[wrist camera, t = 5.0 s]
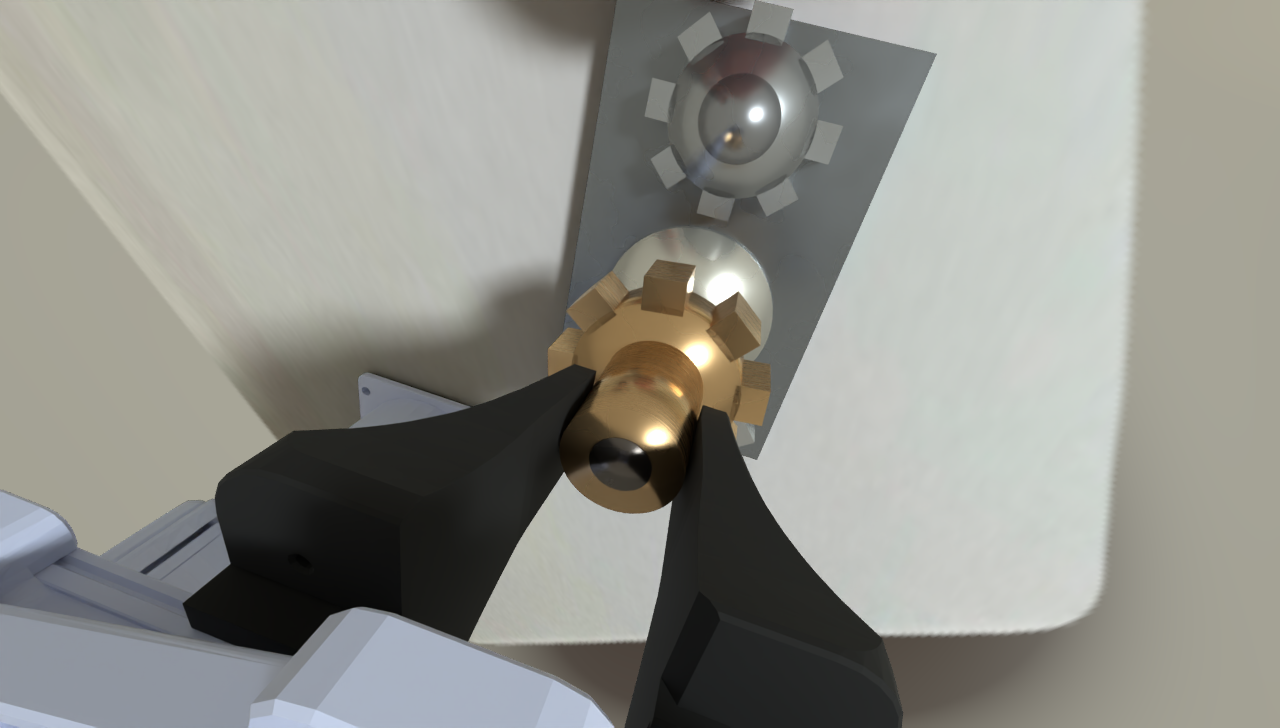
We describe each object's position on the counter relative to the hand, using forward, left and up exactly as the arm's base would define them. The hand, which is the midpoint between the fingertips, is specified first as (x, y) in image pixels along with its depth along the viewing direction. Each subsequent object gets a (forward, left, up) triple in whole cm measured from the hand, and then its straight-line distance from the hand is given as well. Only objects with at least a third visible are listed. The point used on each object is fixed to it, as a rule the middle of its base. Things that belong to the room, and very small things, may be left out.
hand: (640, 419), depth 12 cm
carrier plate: (+2, 0, -9) cm, 10 cm away
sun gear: (+7, 0, -8) cm, 11 cm away
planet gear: (0, 0, -3) cm, 3 cm away
